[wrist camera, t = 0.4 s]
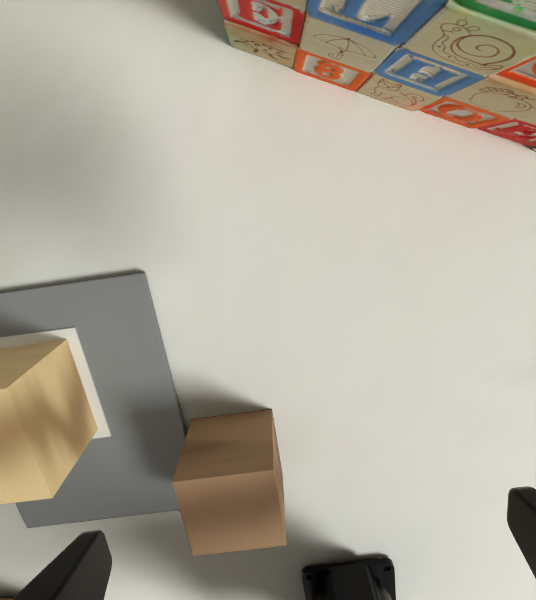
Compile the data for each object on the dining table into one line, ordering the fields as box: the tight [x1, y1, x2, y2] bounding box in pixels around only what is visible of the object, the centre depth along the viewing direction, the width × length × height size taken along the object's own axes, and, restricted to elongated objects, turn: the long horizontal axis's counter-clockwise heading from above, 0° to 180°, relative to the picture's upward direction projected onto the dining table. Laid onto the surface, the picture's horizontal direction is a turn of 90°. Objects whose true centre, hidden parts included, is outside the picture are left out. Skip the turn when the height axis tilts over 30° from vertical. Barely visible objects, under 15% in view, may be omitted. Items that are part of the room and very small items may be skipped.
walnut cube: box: [172, 409, 287, 556], centre depth 21 cm, size 5×5×5 cm
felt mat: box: [0, 272, 187, 528], centre depth 22 cm, size 16×12×1 cm
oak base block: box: [0, 339, 98, 504], centre depth 19 cm, size 6×6×5 cm
